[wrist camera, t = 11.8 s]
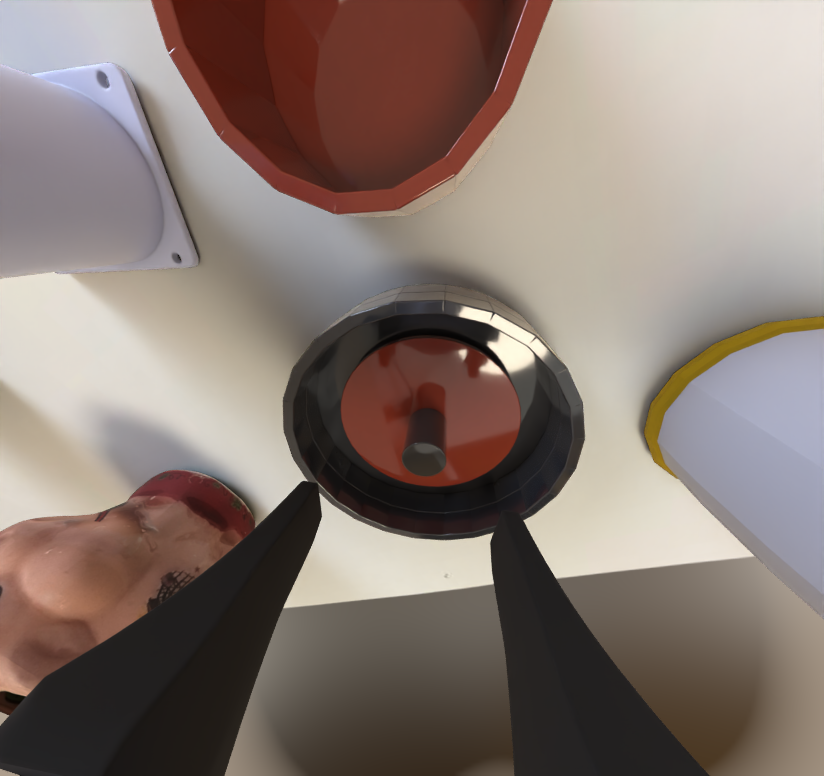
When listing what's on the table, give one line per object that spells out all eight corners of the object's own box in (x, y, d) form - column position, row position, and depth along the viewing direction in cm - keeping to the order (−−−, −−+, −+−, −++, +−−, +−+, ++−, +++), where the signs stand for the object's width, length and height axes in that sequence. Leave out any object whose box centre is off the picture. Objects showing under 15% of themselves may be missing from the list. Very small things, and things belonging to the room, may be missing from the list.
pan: (335, 488, 24) (317, 531, 21) (284, 288, 17) (240, 305, 13) (536, 498, 22) (552, 548, 19) (586, 277, 15) (628, 294, 11)
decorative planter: (331, 558, 30) (253, 784, 18) (251, 579, 34) (143, 774, 22) (175, 414, 22) (-145, 637, 10) (96, 462, 26) (-202, 663, 14)
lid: (346, 462, 22) (324, 511, 18) (344, 318, 17) (313, 347, 13) (492, 486, 22) (502, 542, 18) (542, 346, 16) (571, 384, 12)
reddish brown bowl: (293, 223, 15) (221, 222, 10) (215, -131, 10) (1, -456, 5) (502, 209, 14) (530, 201, 9) (537, -207, 9) (644, -730, 4)
